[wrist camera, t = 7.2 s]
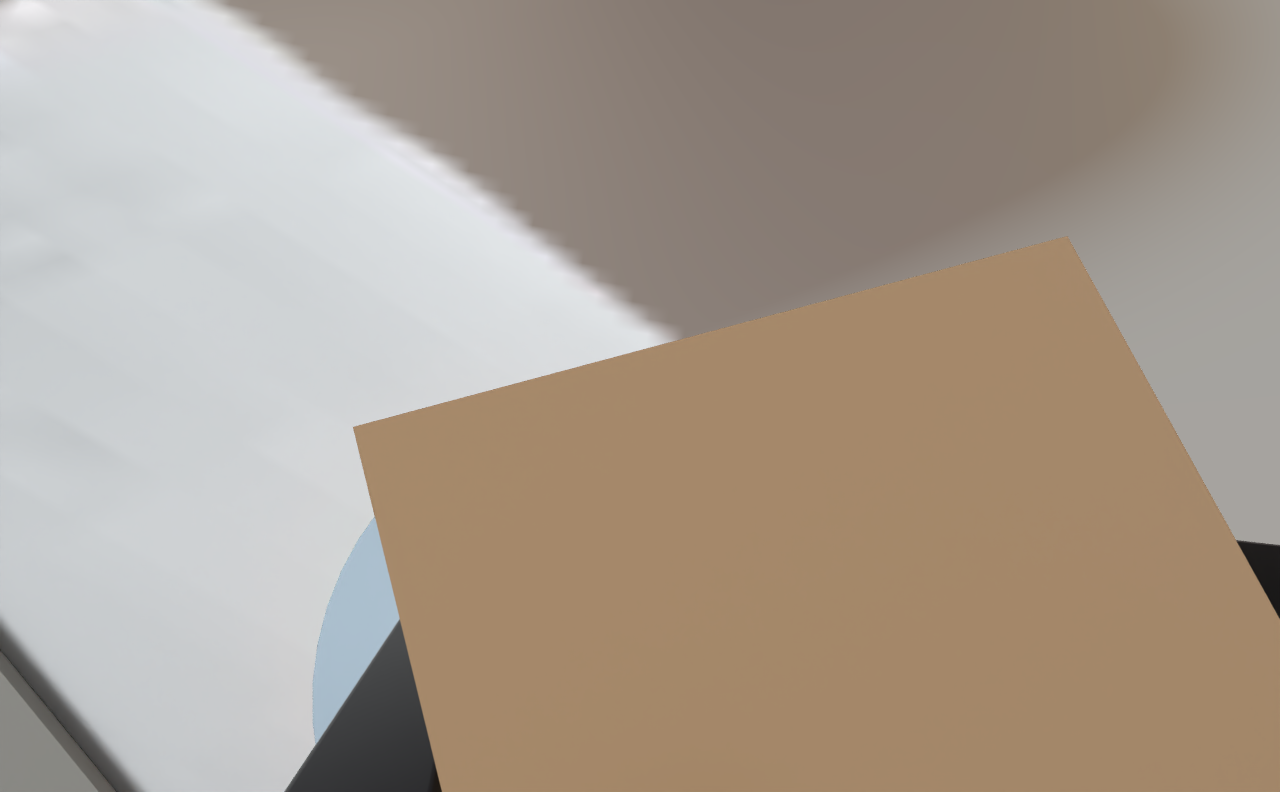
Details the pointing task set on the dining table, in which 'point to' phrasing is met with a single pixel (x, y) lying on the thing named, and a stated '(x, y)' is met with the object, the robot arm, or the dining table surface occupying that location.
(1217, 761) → the tan post on disc
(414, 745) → the robot arm
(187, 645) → the dining table surface
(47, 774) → the mat
